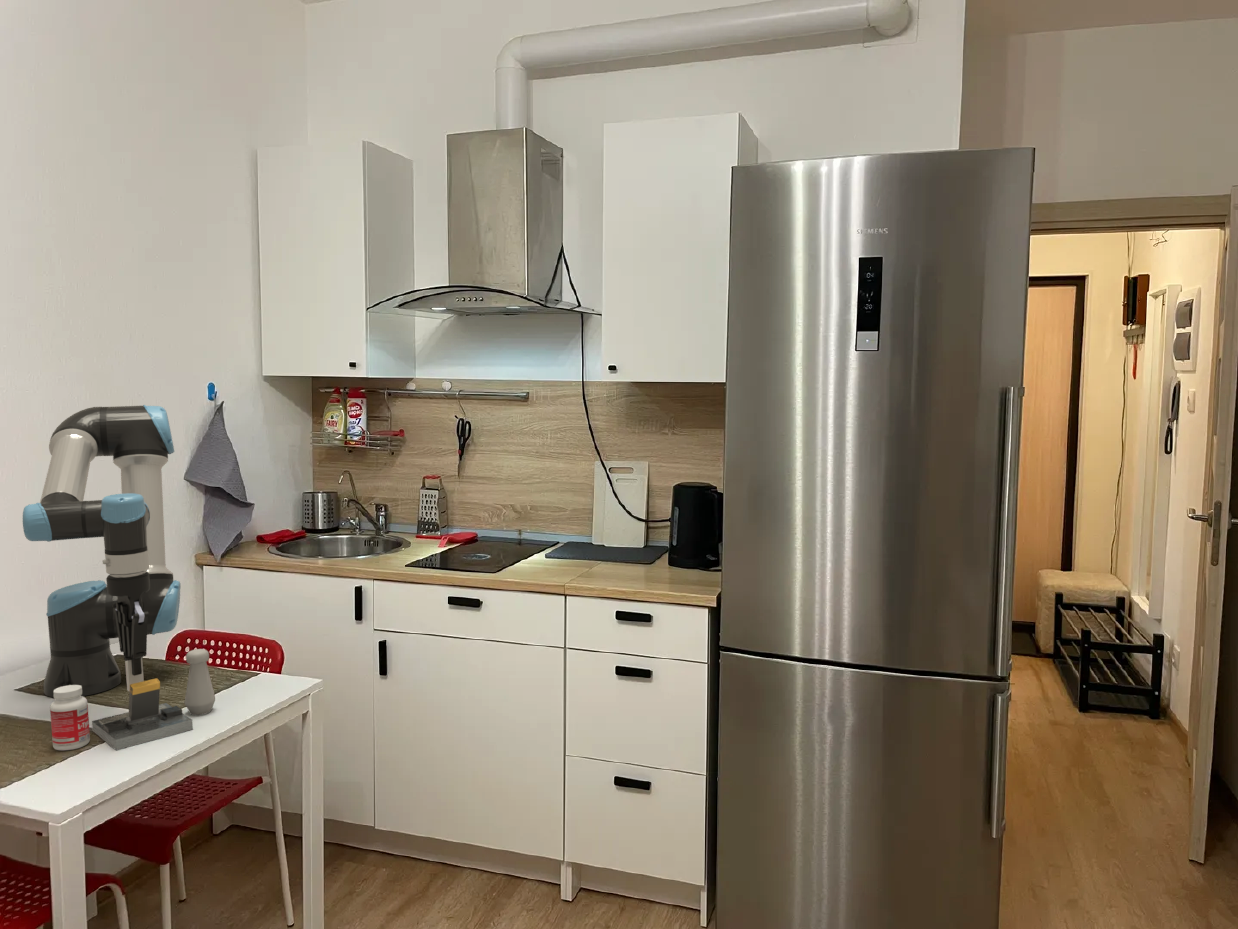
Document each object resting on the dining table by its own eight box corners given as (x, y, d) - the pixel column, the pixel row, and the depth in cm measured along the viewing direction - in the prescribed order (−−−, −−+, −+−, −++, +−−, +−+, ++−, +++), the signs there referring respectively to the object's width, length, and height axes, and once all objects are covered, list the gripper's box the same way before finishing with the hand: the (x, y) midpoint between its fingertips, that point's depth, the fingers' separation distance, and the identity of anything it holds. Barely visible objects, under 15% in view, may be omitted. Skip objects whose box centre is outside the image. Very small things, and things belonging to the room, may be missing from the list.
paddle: (125, 721, 184) (126, 685, 181) (157, 713, 188) (159, 677, 186) (128, 725, 183) (130, 689, 180) (160, 717, 187) (162, 682, 185)
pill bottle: (84, 749, 177) (80, 692, 176) (48, 753, 176) (43, 695, 174) (94, 737, 183) (90, 681, 182) (59, 740, 182) (55, 684, 180)
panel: (92, 731, 186) (91, 716, 186) (166, 712, 196) (165, 698, 196) (116, 750, 176) (115, 734, 176) (192, 729, 186) (191, 714, 186)
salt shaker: (204, 717, 193) (200, 655, 191) (179, 716, 194) (175, 654, 193) (221, 707, 198) (218, 647, 197) (197, 706, 200) (193, 646, 198)
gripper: (96, 571, 187) (104, 686, 190) (118, 581, 178) (127, 702, 181) (136, 565, 193) (143, 677, 195) (160, 574, 184) (167, 692, 186)
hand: (135, 689), depth 188 cm, fingers closed
